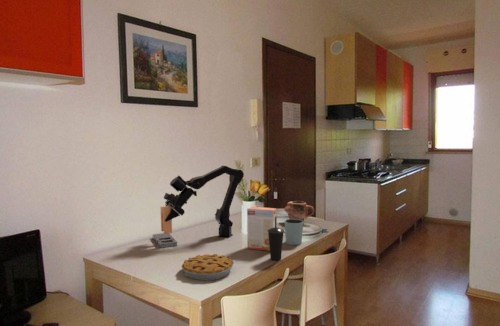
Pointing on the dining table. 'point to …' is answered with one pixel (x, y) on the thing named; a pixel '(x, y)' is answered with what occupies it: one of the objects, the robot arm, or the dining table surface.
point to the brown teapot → (298, 210)
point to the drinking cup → (275, 242)
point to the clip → (165, 225)
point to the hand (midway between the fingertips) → (163, 219)
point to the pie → (207, 267)
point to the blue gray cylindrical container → (293, 231)
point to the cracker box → (259, 227)
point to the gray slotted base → (164, 240)
